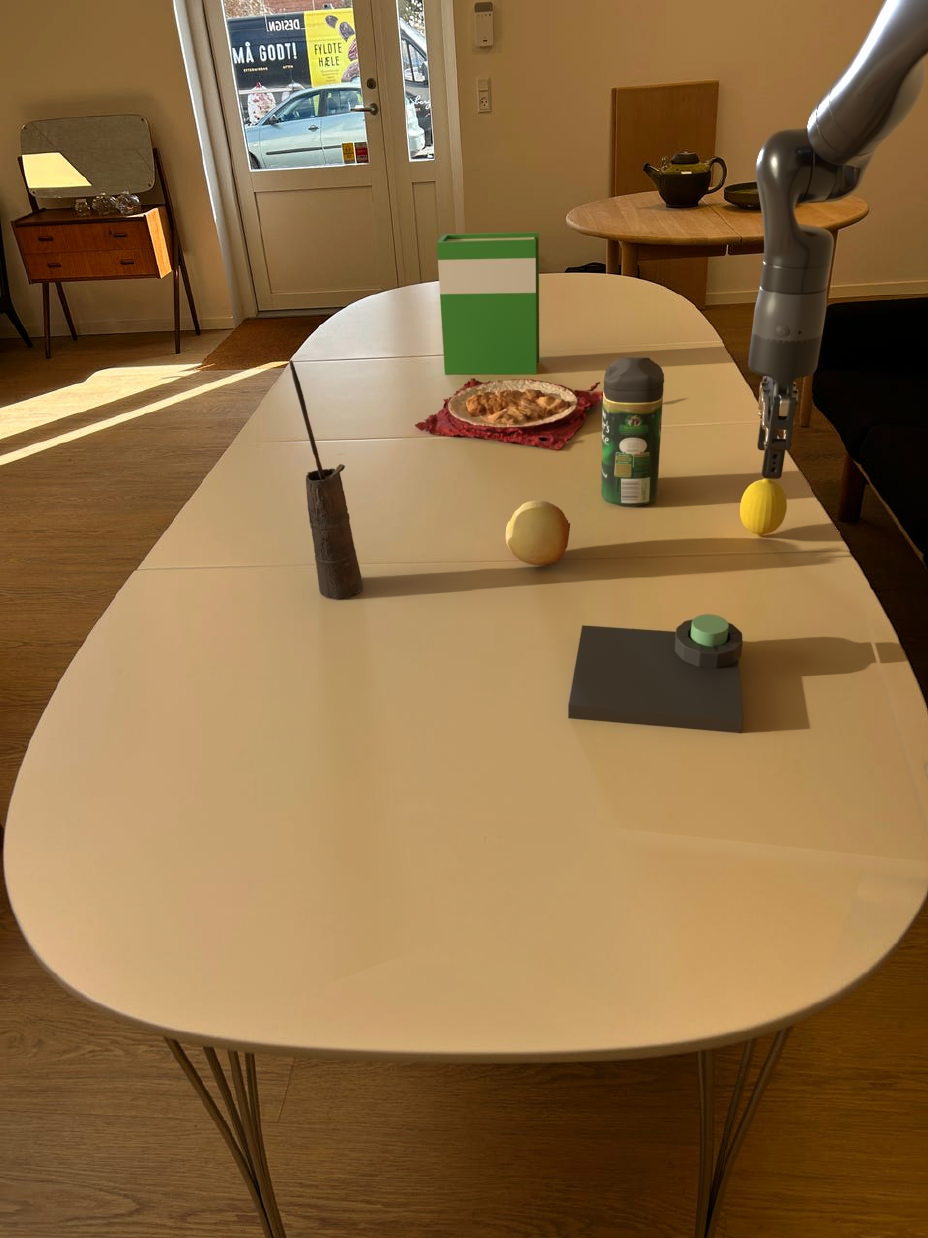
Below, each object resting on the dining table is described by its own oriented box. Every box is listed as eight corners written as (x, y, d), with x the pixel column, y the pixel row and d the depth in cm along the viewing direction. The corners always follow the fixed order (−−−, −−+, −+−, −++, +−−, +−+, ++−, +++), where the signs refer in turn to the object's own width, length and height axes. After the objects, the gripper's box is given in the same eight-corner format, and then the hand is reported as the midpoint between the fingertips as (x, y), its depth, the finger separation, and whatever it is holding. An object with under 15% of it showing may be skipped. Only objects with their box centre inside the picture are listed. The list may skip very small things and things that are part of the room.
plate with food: (472, 388, 173) (471, 369, 171) (606, 398, 162) (606, 379, 161) (413, 435, 155) (410, 415, 153) (558, 450, 145) (558, 429, 143)
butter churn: (372, 559, 118) (346, 337, 103) (396, 594, 111) (372, 359, 96) (301, 576, 115) (264, 350, 100) (321, 612, 108) (284, 374, 93)
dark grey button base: (737, 647, 98) (741, 619, 96) (743, 734, 86) (748, 704, 84) (582, 636, 101) (582, 609, 99) (568, 718, 89) (568, 689, 87)
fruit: (523, 542, 120) (522, 485, 116) (581, 557, 116) (582, 498, 112) (492, 568, 115) (490, 509, 110) (552, 584, 111) (552, 524, 106)
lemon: (766, 551, 115) (774, 491, 111) (728, 536, 119) (734, 478, 114) (790, 535, 118) (799, 477, 114) (752, 522, 122) (760, 465, 117)
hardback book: (539, 362, 183) (538, 231, 170) (536, 374, 177) (535, 240, 164) (450, 362, 186) (443, 234, 173) (444, 374, 180) (436, 242, 167)
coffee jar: (601, 479, 135) (605, 351, 125) (656, 480, 134) (665, 351, 124) (598, 508, 127) (602, 374, 117) (657, 510, 126) (666, 375, 116)
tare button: (726, 629, 95) (728, 615, 94) (727, 649, 92) (729, 634, 91) (690, 627, 96) (691, 612, 95) (690, 646, 93) (691, 632, 92)
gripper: (830, 347, 98) (807, 489, 106) (815, 311, 109) (795, 441, 118) (756, 346, 99) (739, 486, 108) (749, 310, 111) (734, 439, 120)
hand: (768, 462), depth 113 cm, fingers open, 8 cm apart
